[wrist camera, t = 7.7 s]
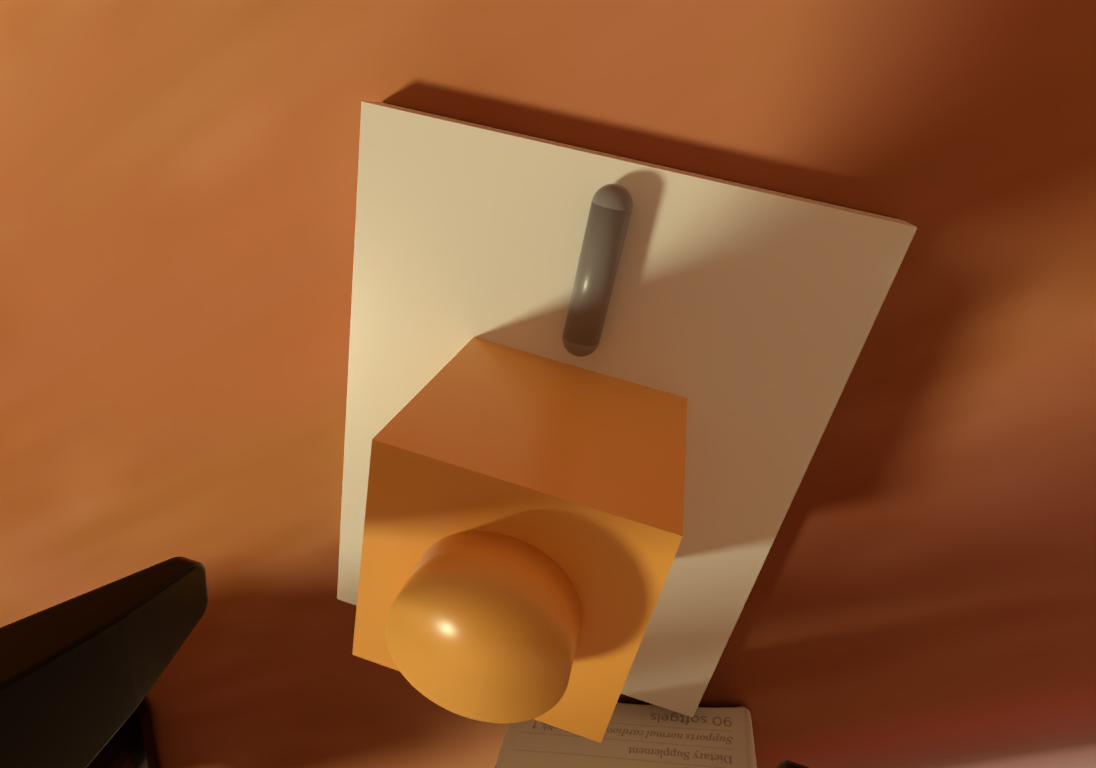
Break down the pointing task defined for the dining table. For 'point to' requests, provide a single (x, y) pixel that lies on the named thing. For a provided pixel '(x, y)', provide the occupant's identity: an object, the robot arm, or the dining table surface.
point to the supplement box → (638, 741)
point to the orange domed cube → (520, 536)
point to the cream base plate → (616, 329)
